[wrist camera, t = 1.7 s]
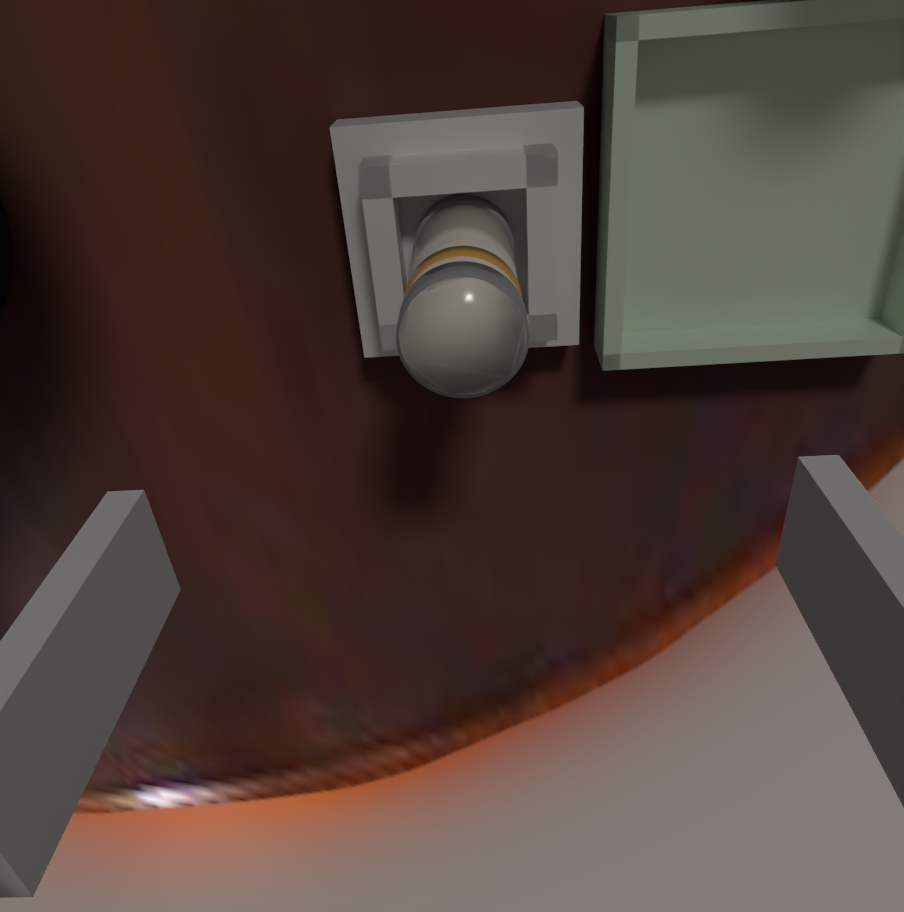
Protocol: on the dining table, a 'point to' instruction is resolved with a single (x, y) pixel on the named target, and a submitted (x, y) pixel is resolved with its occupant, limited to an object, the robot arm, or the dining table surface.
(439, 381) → the fuse
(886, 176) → the tray
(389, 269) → the holder
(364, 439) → the dining table surface
